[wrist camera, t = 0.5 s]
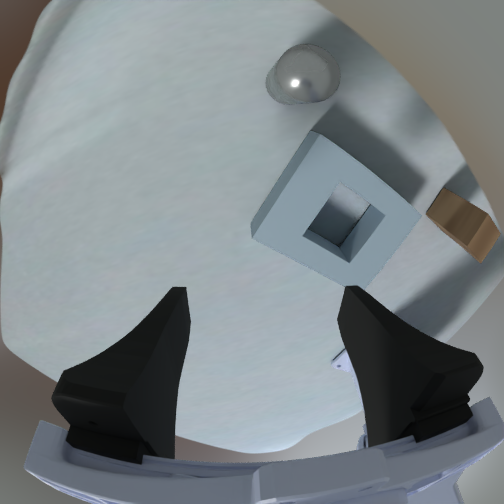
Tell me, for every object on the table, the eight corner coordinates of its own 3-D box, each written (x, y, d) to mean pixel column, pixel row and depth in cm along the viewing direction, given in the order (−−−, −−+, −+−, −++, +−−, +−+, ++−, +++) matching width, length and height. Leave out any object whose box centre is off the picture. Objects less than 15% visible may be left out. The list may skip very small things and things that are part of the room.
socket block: (406, 204, 20) (421, 215, 18) (350, 277, 24) (359, 294, 21) (310, 130, 18) (320, 133, 16) (250, 223, 21) (252, 238, 19)
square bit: (458, 205, 21) (500, 233, 15) (442, 230, 22) (480, 263, 17) (443, 187, 20) (488, 213, 15) (425, 214, 21) (466, 246, 16)
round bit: (318, 78, 16) (351, 68, 11) (295, 112, 17) (319, 114, 12) (280, 55, 15) (298, 33, 10) (257, 89, 16) (265, 80, 11)
